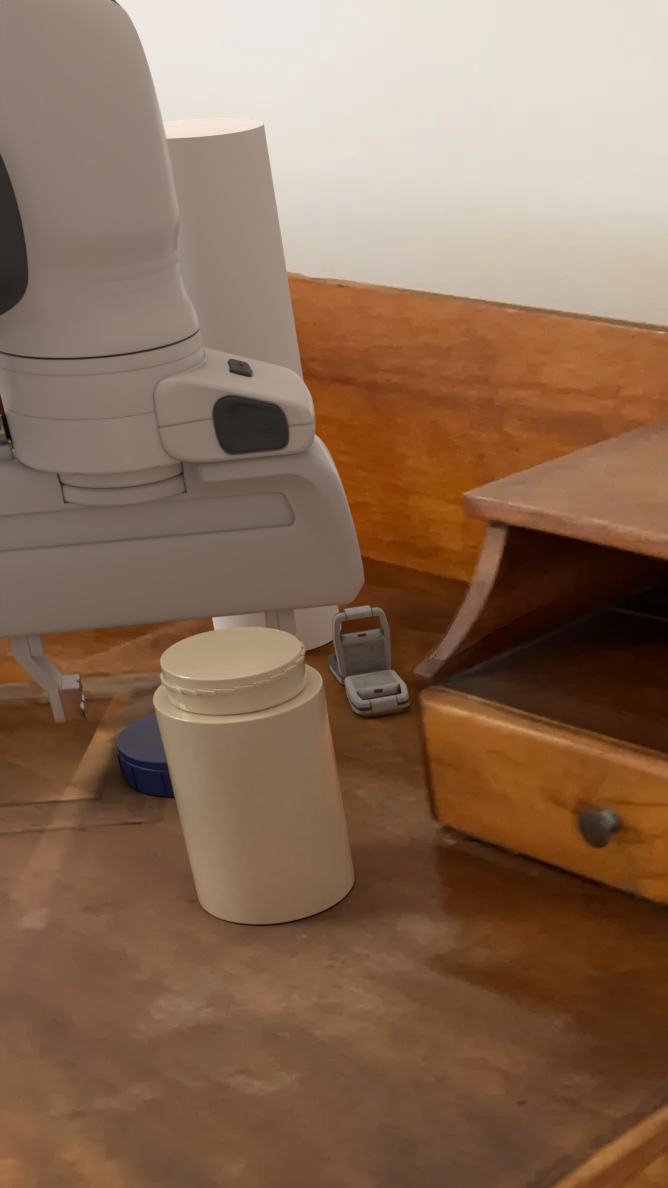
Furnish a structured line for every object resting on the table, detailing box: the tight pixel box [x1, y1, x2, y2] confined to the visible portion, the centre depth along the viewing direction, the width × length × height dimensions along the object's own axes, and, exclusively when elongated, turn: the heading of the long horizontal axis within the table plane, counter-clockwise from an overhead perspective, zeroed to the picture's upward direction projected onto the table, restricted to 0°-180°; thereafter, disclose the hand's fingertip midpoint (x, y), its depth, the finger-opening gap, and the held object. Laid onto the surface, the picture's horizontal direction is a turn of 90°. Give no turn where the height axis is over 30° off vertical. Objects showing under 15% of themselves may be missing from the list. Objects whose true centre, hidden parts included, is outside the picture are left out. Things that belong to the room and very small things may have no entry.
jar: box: [152, 627, 356, 926], centre depth 71 cm, size 7×7×10 cm
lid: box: [115, 712, 175, 798], centre depth 84 cm, size 7×7×2 cm
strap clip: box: [327, 604, 410, 716], centre depth 91 cm, size 8×3×4 cm, turn 20°
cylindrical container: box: [163, 117, 342, 652], centre depth 91 cm, size 7×7×25 cm
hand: (171, 706), depth 84 cm, fingers open, 8 cm apart
